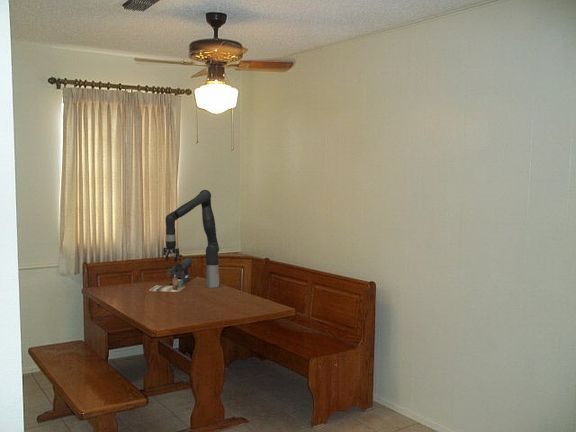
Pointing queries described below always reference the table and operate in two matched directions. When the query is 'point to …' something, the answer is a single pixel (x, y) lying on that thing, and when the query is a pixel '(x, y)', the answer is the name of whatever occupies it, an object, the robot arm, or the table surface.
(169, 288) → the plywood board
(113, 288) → the table surface
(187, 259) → the gun
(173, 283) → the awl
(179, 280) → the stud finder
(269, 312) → the table surface
